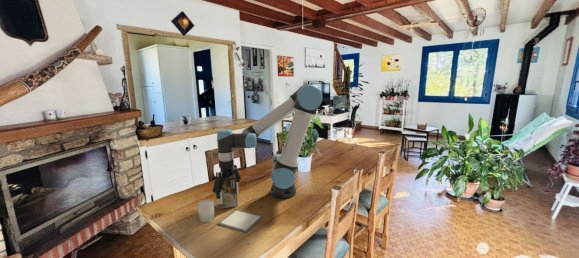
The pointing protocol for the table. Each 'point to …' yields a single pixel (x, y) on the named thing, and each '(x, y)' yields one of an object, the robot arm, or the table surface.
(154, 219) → the table surface
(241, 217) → the mat
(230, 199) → the coffee box
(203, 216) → the cream capsule pill
